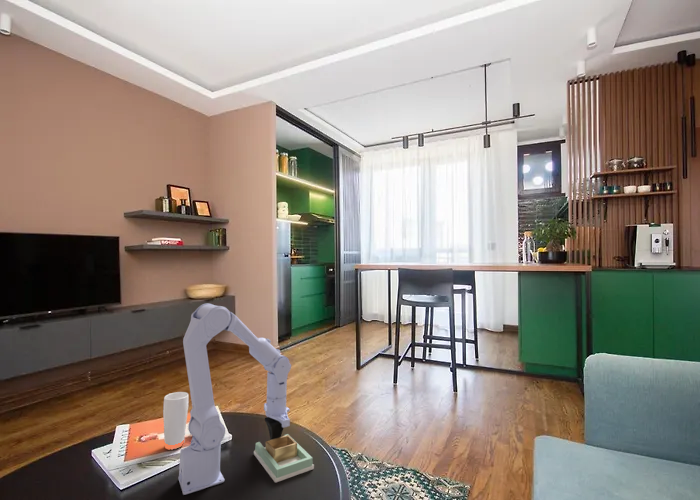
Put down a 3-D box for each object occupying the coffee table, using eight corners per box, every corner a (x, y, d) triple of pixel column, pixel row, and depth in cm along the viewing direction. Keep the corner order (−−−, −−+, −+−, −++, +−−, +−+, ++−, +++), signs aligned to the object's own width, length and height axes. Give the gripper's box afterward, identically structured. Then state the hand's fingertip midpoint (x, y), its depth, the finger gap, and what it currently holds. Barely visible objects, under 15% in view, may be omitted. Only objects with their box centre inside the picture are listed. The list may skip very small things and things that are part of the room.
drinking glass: (164, 442, 105) (166, 392, 106) (188, 439, 107) (190, 390, 108) (158, 454, 98) (161, 400, 99) (184, 450, 100) (187, 398, 101)
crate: (273, 463, 92) (273, 450, 92) (265, 453, 97) (265, 441, 97) (296, 456, 96) (297, 443, 96) (287, 447, 101) (288, 434, 101)
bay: (275, 482, 86) (275, 470, 86) (253, 454, 99) (254, 443, 99) (313, 468, 92) (314, 457, 92) (288, 443, 105) (289, 433, 105)
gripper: (299, 400, 97) (298, 449, 97) (279, 386, 109) (278, 429, 108) (276, 406, 93) (275, 457, 93) (257, 390, 105) (256, 435, 104)
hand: (275, 443), depth 100 cm, fingers closed
